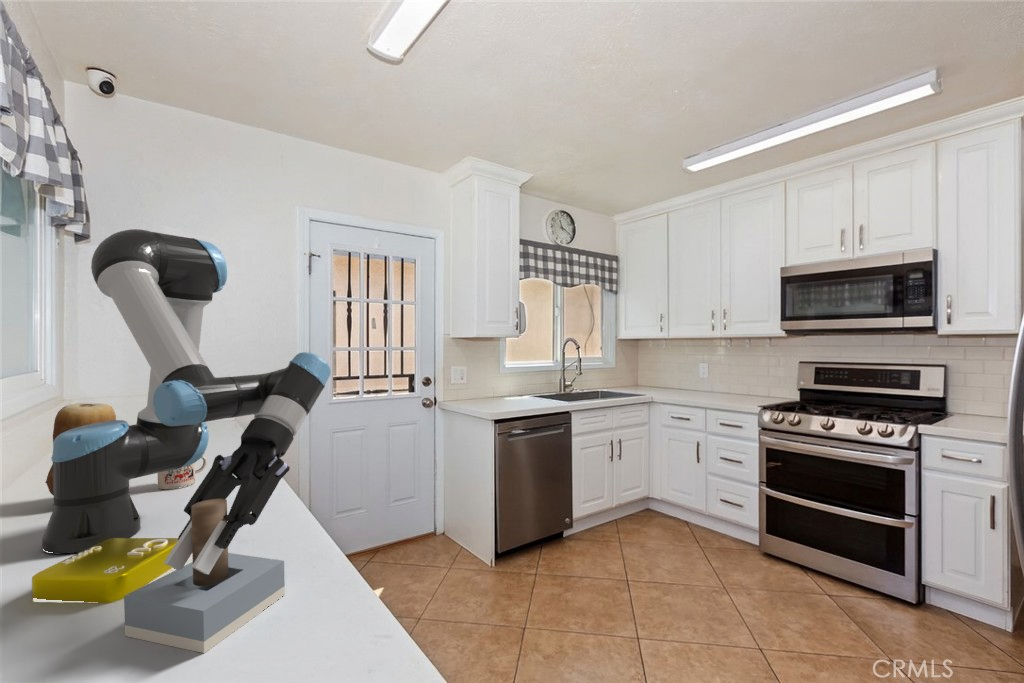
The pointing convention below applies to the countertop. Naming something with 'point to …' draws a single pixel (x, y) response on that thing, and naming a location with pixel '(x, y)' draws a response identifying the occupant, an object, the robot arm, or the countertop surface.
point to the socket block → (203, 603)
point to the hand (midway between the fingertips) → (186, 568)
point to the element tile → (105, 570)
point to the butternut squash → (78, 423)
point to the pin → (202, 528)
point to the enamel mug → (179, 476)
